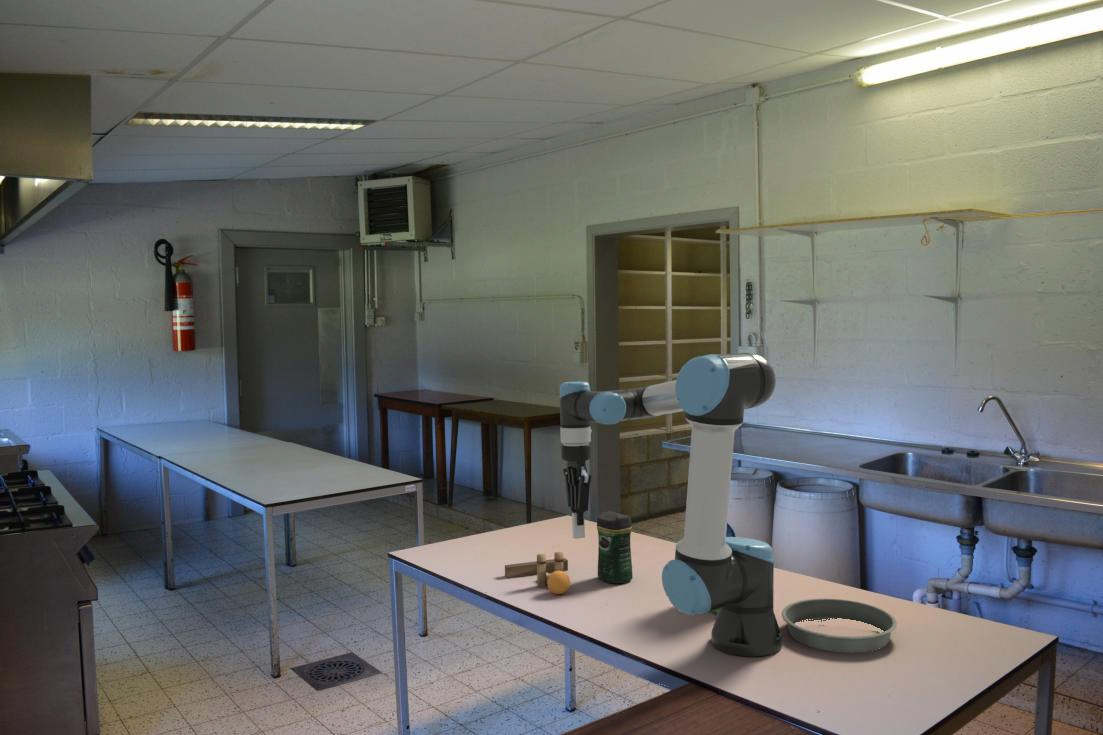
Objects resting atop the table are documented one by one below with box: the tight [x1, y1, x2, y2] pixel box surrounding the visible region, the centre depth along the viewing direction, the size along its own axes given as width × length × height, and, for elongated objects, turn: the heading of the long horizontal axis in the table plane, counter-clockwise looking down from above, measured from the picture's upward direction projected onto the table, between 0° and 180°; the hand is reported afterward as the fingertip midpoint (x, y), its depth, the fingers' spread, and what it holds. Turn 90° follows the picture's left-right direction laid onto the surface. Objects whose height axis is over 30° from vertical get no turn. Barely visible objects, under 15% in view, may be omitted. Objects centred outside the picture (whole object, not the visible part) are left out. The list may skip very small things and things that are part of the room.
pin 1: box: [536, 553, 547, 589], centre depth 232 cm, size 2×2×8 cm
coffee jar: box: [596, 510, 633, 584], centre depth 236 cm, size 10×8×19 cm
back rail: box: [504, 557, 569, 579], centre depth 244 cm, size 2×18×3 cm, turn 110°
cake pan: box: [781, 597, 898, 653], centre depth 194 cm, size 25×25×4 cm
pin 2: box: [553, 551, 565, 572], centre depth 233 cm, size 2×2×8 cm
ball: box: [546, 571, 571, 595], centre depth 225 cm, size 6×6×6 cm
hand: (578, 537), depth 215 cm, fingers closed
